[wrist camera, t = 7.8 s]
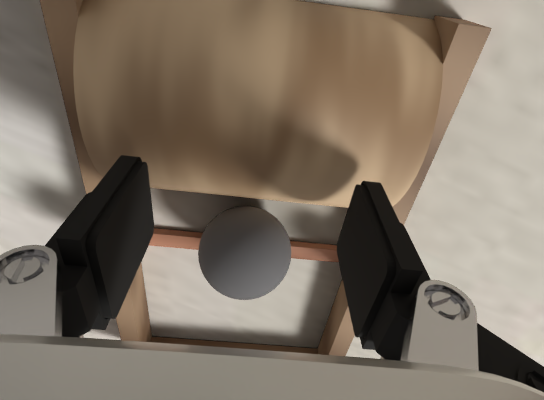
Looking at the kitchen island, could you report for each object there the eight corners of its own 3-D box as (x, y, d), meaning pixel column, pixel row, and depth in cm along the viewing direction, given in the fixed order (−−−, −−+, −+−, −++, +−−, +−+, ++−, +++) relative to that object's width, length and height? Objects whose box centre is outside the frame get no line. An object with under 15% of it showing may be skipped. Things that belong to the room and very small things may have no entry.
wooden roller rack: (120, -38, 15) (-34, -36, 7) (415, 4, 15) (543, 43, 8) (157, 285, 27) (113, 408, 19) (321, 298, 28) (339, 422, 20)
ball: (185, 304, 12) (200, 288, 16) (292, 312, 13) (281, 295, 17) (198, 196, 13) (209, 206, 17) (301, 206, 13) (289, 214, 17)
